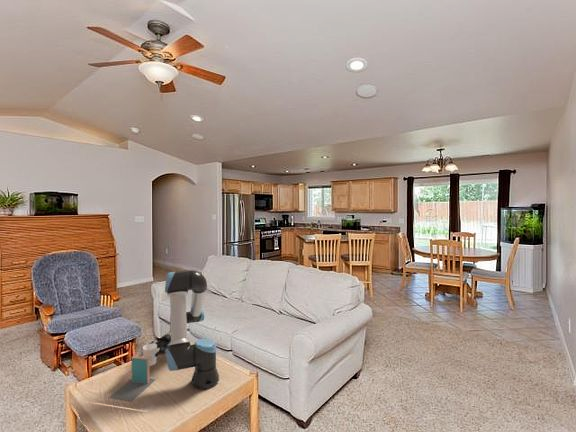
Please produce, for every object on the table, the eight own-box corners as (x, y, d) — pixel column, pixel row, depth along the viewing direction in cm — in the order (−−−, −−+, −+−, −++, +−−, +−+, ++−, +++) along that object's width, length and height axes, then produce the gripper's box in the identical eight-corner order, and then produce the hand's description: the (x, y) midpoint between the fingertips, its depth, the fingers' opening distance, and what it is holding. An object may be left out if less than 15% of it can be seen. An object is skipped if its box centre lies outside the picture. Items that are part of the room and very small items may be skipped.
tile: (149, 382, 171) (149, 357, 170) (147, 384, 169) (147, 359, 168) (133, 380, 172) (133, 355, 172) (131, 381, 171) (131, 357, 170)
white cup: (154, 366, 175) (154, 349, 175) (140, 366, 175) (140, 349, 174) (159, 359, 183) (159, 343, 183) (146, 359, 183) (145, 343, 182)
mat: (156, 380, 173) (156, 379, 173) (131, 402, 154) (131, 401, 154) (134, 377, 176) (134, 376, 176) (107, 399, 156) (107, 398, 156)
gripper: (182, 347, 194) (160, 365, 172) (153, 343, 198) (128, 361, 176) (182, 335, 194) (160, 352, 172) (153, 332, 198) (128, 349, 176)
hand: (144, 357), depth 174 cm, fingers closed on white cup, 8 cm apart
